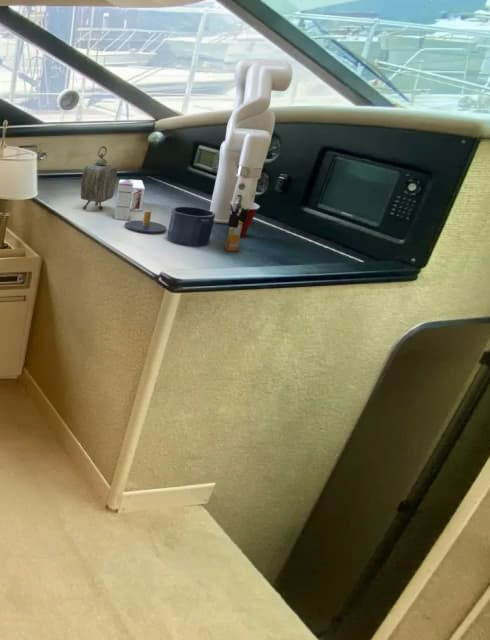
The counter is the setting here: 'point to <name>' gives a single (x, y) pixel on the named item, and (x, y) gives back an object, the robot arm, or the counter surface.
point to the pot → (190, 226)
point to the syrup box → (124, 199)
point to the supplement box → (233, 237)
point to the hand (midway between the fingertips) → (236, 224)
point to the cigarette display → (137, 195)
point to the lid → (145, 224)
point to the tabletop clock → (98, 181)
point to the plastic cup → (250, 216)
